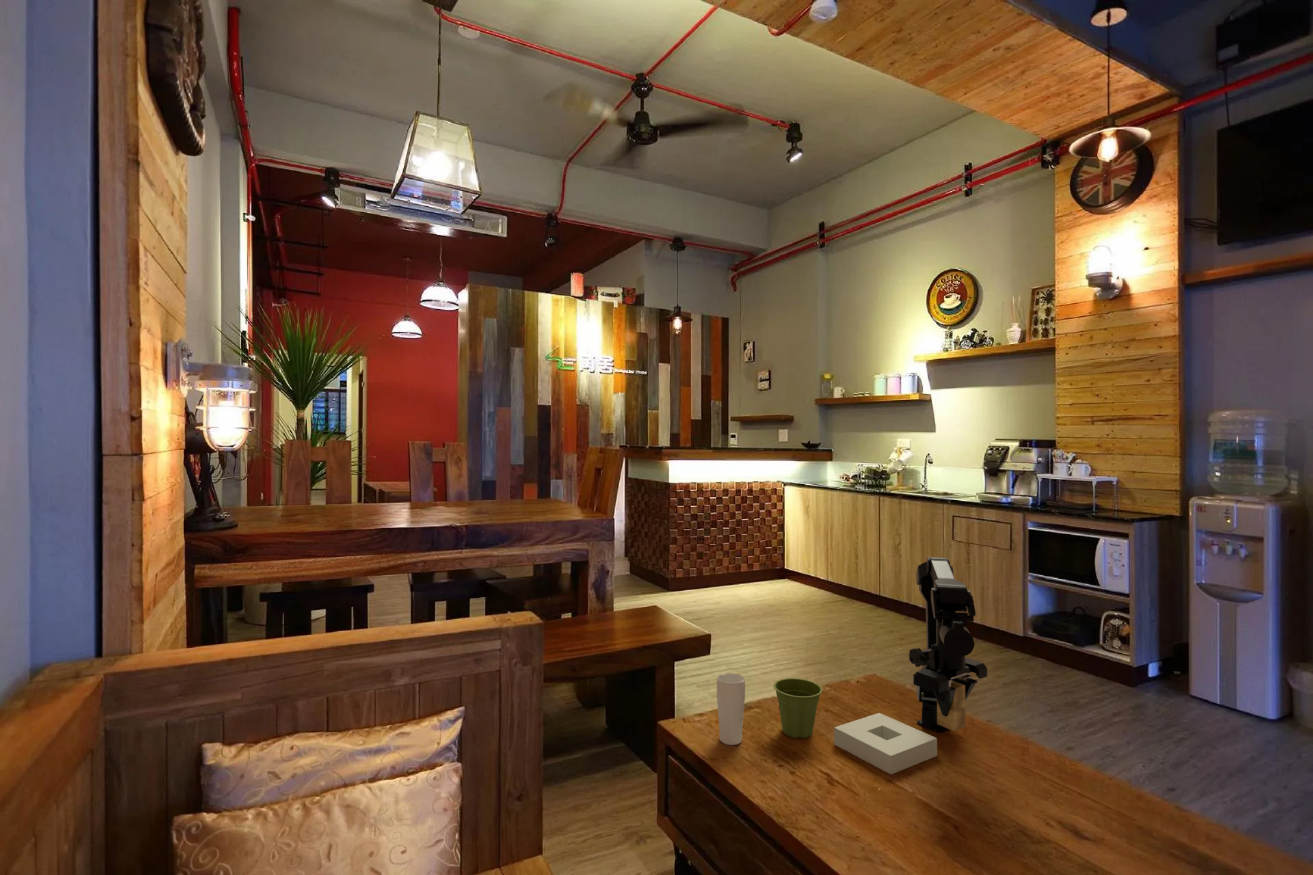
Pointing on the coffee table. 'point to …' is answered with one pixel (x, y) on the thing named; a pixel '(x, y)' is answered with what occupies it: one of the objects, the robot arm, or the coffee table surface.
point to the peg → (954, 710)
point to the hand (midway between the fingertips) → (950, 713)
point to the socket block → (885, 742)
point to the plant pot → (797, 705)
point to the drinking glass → (730, 707)
